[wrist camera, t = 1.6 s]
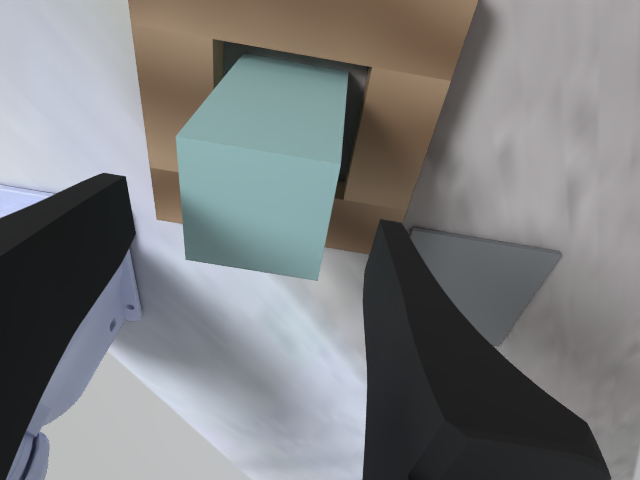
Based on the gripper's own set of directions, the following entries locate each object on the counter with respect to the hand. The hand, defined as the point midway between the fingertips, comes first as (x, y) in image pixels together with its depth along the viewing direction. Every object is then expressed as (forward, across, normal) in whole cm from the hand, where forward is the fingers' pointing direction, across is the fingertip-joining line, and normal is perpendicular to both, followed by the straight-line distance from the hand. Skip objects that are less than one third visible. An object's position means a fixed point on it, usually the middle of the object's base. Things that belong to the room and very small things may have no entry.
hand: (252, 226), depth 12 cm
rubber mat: (+8, -11, +9) cm, 17 cm away
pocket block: (+8, 0, 0) cm, 8 cm away
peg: (+8, 0, 0) cm, 8 cm away
